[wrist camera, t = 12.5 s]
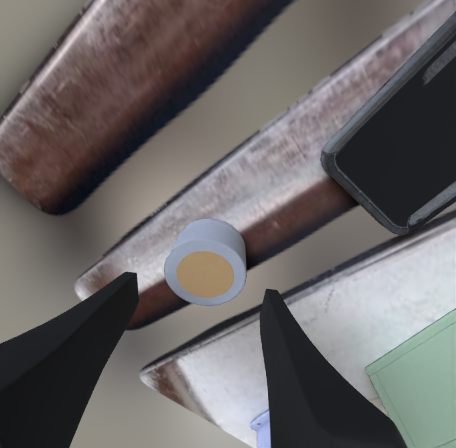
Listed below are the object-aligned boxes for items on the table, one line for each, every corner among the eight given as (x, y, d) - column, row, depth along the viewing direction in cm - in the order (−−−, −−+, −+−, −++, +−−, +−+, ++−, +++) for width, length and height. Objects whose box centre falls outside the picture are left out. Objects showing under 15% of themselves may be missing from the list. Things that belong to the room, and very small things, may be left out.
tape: (222, 287, 18) (219, 317, 15) (164, 257, 17) (150, 284, 14) (259, 241, 16) (263, 266, 13) (196, 204, 15) (187, 223, 12)
